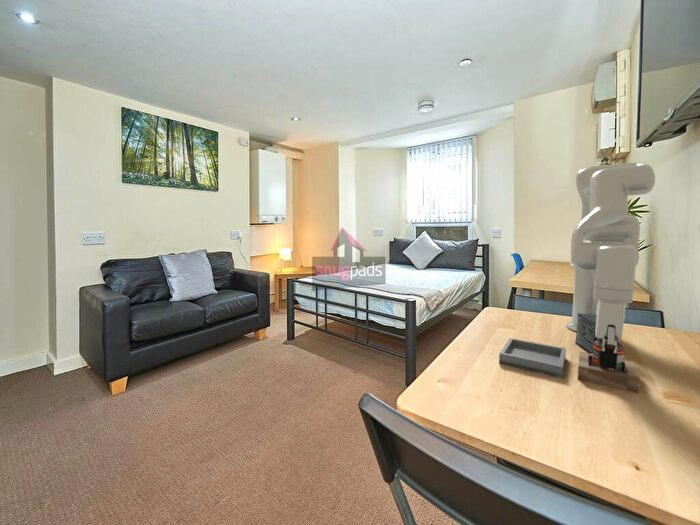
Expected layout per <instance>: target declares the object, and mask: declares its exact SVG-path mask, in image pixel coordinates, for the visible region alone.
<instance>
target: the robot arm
mask: <svg viewBox="0 0 700 525" xmlns="http://www.w3.org/2000/svg"><path fill="white" fill-rule="evenodd" d="M655 174H656V173H655V170H654V169H653V166H651V165H649V164H647V163H645V162H641V161H640V162H639V161H637V162H628V163H627V162H626V163H617V164H604V165H595V166H589V167H585V168H582V169H580V170H579V171H578V172H577V173H576V176H575V184H576V191H577V193H578V195H579V197H580V200H581V207H582V208H581V216H580V217H581V218H580V221H579V222H578V224H577V225H575V227H574V229H573V231H572V235H571V240H570V261H571V264H572V265H573V267H574V283H573V284H574V285H573V299H572V300H573V301H572V312H571V313H572V314H571V315H572V317H571V321H568V322H567V323H566V327H567V328H568V329H569V330H571V331H574V332H577V322H578V313H581V314H596V326H595V337H596V338H597V339H599V338H600V339H602V338H603V339H602V350H600V362H599V365H600V366H602V367H607V368H612V369H616V364H617V342H619V343H621V342H622V337H623V330H624V324H625V317H626V316H625V315H626V305H627V304H632V303H633V299H634V298H633V297H634V288H635V287H634V286H635V276H636V266H637V265H638V264H639V259H640V253H639V243H640V236H641V235H640V234H641V225H640V221H639V219H638V217H637V216H634V215H630V214H629V203H628V196H635V195H636V196H639V195H640V196H641V195H647V194H649V193H650V192H651V191H652V190H653V189H654V187H655V183H656V175H655ZM584 241H585V242H584ZM605 337H608V339H605ZM614 338H615V341H614ZM605 342H607V344H605Z"/></svg>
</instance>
